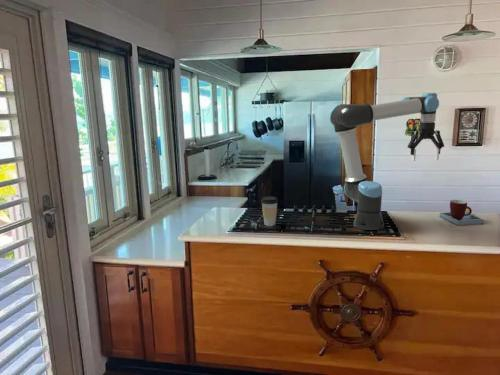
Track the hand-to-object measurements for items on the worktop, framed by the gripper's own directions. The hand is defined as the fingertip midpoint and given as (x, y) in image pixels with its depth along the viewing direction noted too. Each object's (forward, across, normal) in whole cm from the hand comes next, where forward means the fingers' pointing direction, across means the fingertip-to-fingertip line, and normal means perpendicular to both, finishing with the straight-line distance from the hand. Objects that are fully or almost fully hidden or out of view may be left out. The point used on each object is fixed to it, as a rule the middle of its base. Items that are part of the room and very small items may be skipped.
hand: (424, 160), depth 210 cm
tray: (+32, +15, -14) cm, 38 cm away
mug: (+31, +14, -14) cm, 37 cm away
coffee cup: (+32, -89, -4) cm, 95 cm away
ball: (+32, +25, -4) cm, 41 cm away
